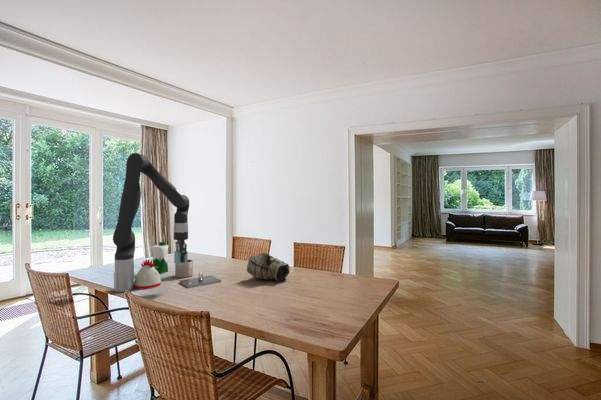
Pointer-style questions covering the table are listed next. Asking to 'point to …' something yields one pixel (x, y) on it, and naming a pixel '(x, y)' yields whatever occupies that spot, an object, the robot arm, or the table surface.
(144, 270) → the kitchen timer
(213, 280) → the shaft plate
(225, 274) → the table surface
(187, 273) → the planter
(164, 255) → the milk carton
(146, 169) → the robot arm
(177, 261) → the teal plastic block
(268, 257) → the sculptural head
